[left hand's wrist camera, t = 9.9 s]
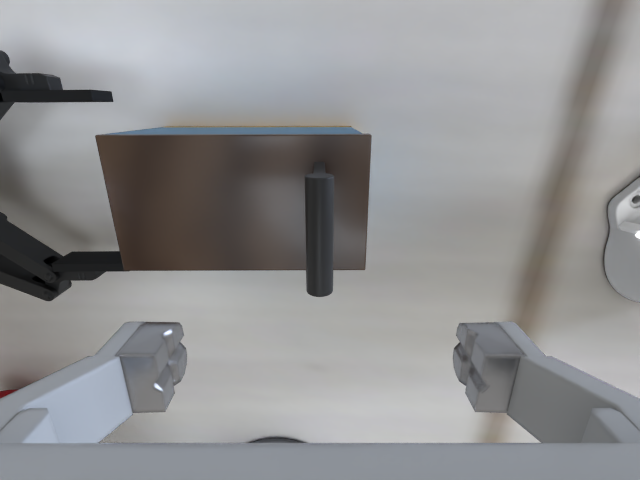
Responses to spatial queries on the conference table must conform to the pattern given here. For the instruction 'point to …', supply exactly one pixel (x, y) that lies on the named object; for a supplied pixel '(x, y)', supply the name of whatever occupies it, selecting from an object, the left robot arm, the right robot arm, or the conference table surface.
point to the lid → (240, 202)
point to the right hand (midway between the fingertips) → (121, 185)
